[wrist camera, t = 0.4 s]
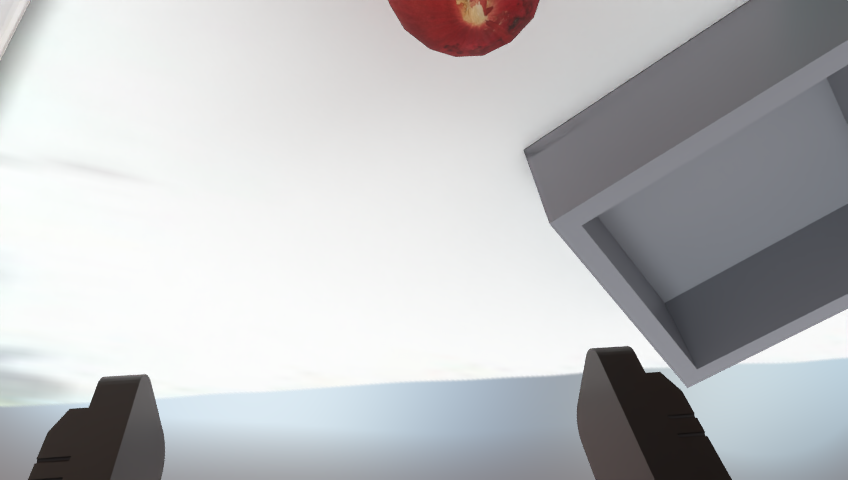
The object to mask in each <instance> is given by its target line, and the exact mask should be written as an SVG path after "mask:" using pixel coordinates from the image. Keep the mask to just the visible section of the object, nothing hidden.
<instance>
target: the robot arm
mask: <svg viewBox="0 0 848 480" xmlns="http://www.w3.org/2000/svg"><path fill="white" fill-rule="evenodd" d="M577 424H578V430H579V435H580V439H581V442H582V444H583V447H584V450H585V452H586V455H587V457H588V461H589V463H590V466H591V469H592V471H593V474H594V476H595V479H596V480H732V479H731V477H730V476H729V474H728V472H727V471H726V468H725V467H724V465H723V463H722V461H721V460H720V458H719V456H718V454H717V453H716V451H715V449H714V447H713V445H712V444H711V442H710V440H709V438H708V437H707V436H705V432H704V430H703V428H702V426H701V424H700V422H699V421H698V419H697V418H695V416H694V412H693V410H692V408H691V406H690V405H689V403H688V401H687V399H686V398H685V396H684V394H683V392H682V391H681V390H680V389H679V388H678V387H676V386H675V385H674V384H673V383H672V382H671V381H670V380H669V379H667V378H666V377H665V376H664V375H663V374H662V373H661V372H653V373H645V371H644V369H643V367H642V365H641V364H640V362H639V360H638V358H637V356H636V354H635V352H634V351H633V349H632V348H631V347H629V346H624V347H608V348H592V349H589V350H588V352H587V355H586V360H585V365H584V371H583V377H582V382H581V389H580V393H579V399H578V405H577ZM164 459H165V442H164V434H163V429H162V426H161V421H160V418H159V413H158V409H157V405H156V401H155V397H154V393H153V389H152V385H151V381H150V379H149V377H148V375H146V374H143V375H127V376H110V377H102V378H101V379H100V381H99V382H98V384H97V387H96V390H95V392H94V395H93V398H92V401H91V403H90V406H89V408H77V409H69V411H67V412H66V414H65V415H64V416H63V417H62V418H61V419H60V420H59V421H58V422H57V423H56V424H55V425H54V426H53V427H52V428H51V430H50V431H49V432H48V433H47V436H46V438H45V440H44V443H43V445H42V448H41V450H40V452H39V455H38V457H37V463H36V464H34V467H33V469H32V472H31V474H30V476H29V479H28V480H161V476H162V472H163V467H164Z"/></svg>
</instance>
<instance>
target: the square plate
mask: <svg viewBox="0 0 848 480" xmlns="http://www.w3.org/2000/svg"><path fill="white" fill-rule="evenodd" d="M30 1H31V0H0V60H1V58H2V56H3V54H4V52H5V50H6V48H7V46H8V44H9V42H10V40H11V38H12V36H13V34H14V32H15V30H16V28H17V26H18V24H19V22H20V21H21V19H22V17H23V15H24V13H25V11H26V9H27V7H28V5H29V3H30Z"/></svg>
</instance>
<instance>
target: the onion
mask: <svg viewBox="0 0 848 480" xmlns="http://www.w3.org/2000/svg"><path fill="white" fill-rule="evenodd" d="M388 1H389V4H390V5H391V7H392V9H393V11H394V12H395V14H396V16H397V17H398V19H399V21H400V22H401V24H402V26H403V27H404V29H405V30H406V31H408V32H409V33H410V34H411V35H413V36H414V37H415V38H416V39H418V40H419V41H420V42H422V43H423V44H424V45H425V46H427V47H428V48H430V49H432V50H435V51H438V52H442V53H445V54H448V55H451V56H455V57H462V56H482V55H485V54H487V53H489V52H491V51H493V50H495V49H497V48H499V47H501V46H503V45H505V44H507V43H510V42H511V41H512V40H513V39H514V38H515V37H516V36H517V35H518V34H519V33H520V32H521V30H522V29H523V28H524V27H525V26H526V25H527V24H528V23H529V22H530V21H531V20H532V19H533V18H534V15H535V12H536V9H537V6H538V3H539V0H388Z"/></svg>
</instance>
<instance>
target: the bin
mask: <svg viewBox="0 0 848 480" xmlns="http://www.w3.org/2000/svg"><path fill="white" fill-rule="evenodd" d="M524 153H525V155H526V158H527V161H528V164H529V167H530V170H531V172H532V175H533V178H534V181H535V184H536V187H537V189H538V192H539V195H540V198H541V201H542V204H543V206H544V209H545V212H546V215H547V218H548V221H549V223H550V225H551V226H552V227H553V228H554V229H555V231H556V232H557V233H558V234H559V235H560V237H561V238H562V239H563V240H564V241H565V243H566V244H567V245H568V246H569V247H570V248H571V250H572V251H573V252H574V253H575V254H576V256H577V257H578V258H579V259H580V260H581V262H582V263H583V264H584V265H585V266H586V268H587V269H588V270H589V271H590V272H591V273H592V275H593V276H594V277H595V278H596V279H597V281H598V282H599V283H600V284H601V285H602V287H603V288H604V289H605V290H606V291H607V293H608V294H609V295H610V296H611V297H612V299H613V300H614V301H615V302H616V303H617V304H618V306H619V307H620V308H621V309H622V310H623V312H624V313H625V314H626V315H627V316H628V318H629V319H630V320H631V321H632V322H633V324H634V325H635V326H636V327H637V328H638V330H639V331H640V332H641V333H642V334H643V335H644V337H645V338H646V339H647V340H648V341H649V343H650V344H651V345H652V346H653V347H654V349H655V350H656V351H657V352H658V353H659V355H660V356H661V357H662V358H663V359H664V361H665V362H666V363H667V364H668V365H669V366H670V368H671V369H672V370H673V371H674V372H675V374H676V375H677V376H678V377H679V378H680V380H681V381H682V382H683V383H684V384H685V386H686V387H687V388H688V387H690V386H692V385H694V384H696V383H698V382H701V381H703V380H705V379H706V378H708V377H711V376H713V375H715V374H717V373H719V372H721V371H723V370H725V369H726V368H729V367H731V366H733V365H735V364H737V363H739V362H741V361H743V360H745V359H747V358H749V357H751V356H753V355H755V354H757V353H759V352H761V351H763V350H765V349H767V348H769V347H771V346H773V345H775V344H777V343H779V342H781V341H783V340H785V339H787V338H789V337H791V336H793V335H795V334H797V333H799V332H801V331H803V330H806V329H808V328H810V327H812V326H814V325H816V324H818V323H820V322H822V321H824V320H826V319H828V318H830V317H832V316H834V315H836V314H838V313H840V312H842V311H844V310H846V309H848V0H750V1H748V2H747V3H745V4H744V5H742V6H741V7H739V8H738V9H736V10H735V11H733V12H732V13H730V14H729V15H727V16H726V17H724V18H723V19H721V20H720V21H718V22H717V23H715V24H714V25H712V26H711V27H709V28H708V29H706V30H705V31H703V32H702V33H700V34H699V35H697V36H696V37H694V38H693V39H691V40H690V41H688V42H687V43H685V44H683V45H682V46H680V47H679V48H677V49H676V50H674V51H673V52H671V53H670V54H668V55H667V56H665V57H664V58H662V59H661V60H659V61H658V62H656V63H655V64H653V65H652V66H650V67H649V68H647V69H646V70H644V71H643V72H641V73H640V74H638V75H637V76H635V77H634V78H632V79H631V80H629V81H628V82H626V83H625V84H623V85H622V86H620V87H619V88H617V89H615V90H614V91H612V92H611V93H609V94H608V95H606V96H605V97H603V98H602V99H600V100H599V101H597V102H596V103H594V104H593V105H591V106H590V107H588V108H587V109H585V110H584V111H582V112H581V113H579V114H578V115H576V116H575V117H573V118H572V119H570V120H569V121H567V122H566V123H564V124H563V125H561V126H560V127H558V128H557V129H555V130H554V131H552V132H551V133H549V134H547V135H546V136H544V137H543V138H541V139H540V140H538V141H537V142H535V143H534V144H532V145H531V146H529V147H528V148H526V149H525V150H524Z"/></svg>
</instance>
